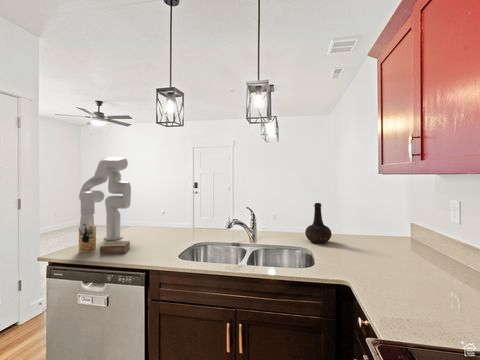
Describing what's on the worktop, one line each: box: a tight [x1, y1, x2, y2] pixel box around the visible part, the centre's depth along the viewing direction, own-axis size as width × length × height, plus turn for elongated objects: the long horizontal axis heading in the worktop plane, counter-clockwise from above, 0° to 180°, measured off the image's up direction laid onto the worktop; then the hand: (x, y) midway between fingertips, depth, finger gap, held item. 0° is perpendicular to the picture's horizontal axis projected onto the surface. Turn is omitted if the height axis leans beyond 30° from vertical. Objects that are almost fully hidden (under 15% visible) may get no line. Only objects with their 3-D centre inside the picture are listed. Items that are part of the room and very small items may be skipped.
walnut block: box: [99, 240, 131, 256], centre depth 171 cm, size 12×14×5 cm
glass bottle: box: [305, 202, 332, 244], centre depth 200 cm, size 18×18×28 cm
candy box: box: [78, 225, 97, 253], centre depth 171 cm, size 9×4×15 cm, turn 107°
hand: (87, 241), depth 171 cm, fingers closed on candy box, 4 cm apart
